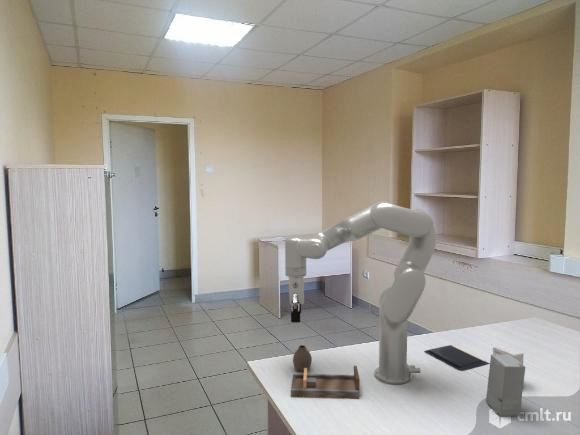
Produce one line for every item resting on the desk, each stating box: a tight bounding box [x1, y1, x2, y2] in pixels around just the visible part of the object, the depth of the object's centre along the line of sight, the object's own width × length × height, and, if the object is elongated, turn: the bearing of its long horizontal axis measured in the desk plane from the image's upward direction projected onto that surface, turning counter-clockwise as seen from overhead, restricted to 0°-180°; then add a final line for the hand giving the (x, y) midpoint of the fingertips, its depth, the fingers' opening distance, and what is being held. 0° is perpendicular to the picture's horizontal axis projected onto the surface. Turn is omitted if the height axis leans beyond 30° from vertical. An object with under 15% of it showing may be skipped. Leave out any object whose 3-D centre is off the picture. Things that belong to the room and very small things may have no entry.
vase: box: [292, 345, 313, 373], centre depth 159 cm, size 7×7×9 cm
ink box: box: [492, 344, 524, 365], centre depth 147 cm, size 9×5×12 cm, turn 26°
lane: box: [290, 365, 361, 400], centre depth 144 cm, size 22×12×6 cm, turn 86°
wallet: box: [423, 344, 490, 372], centre depth 168 cm, size 20×2×15 cm
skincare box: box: [485, 353, 526, 417], centre depth 130 cm, size 8×7×16 cm
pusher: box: [303, 368, 316, 389], centre depth 145 cm, size 4×9×4 cm, turn 176°
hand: (296, 317), depth 157 cm, fingers open, 9 cm apart
